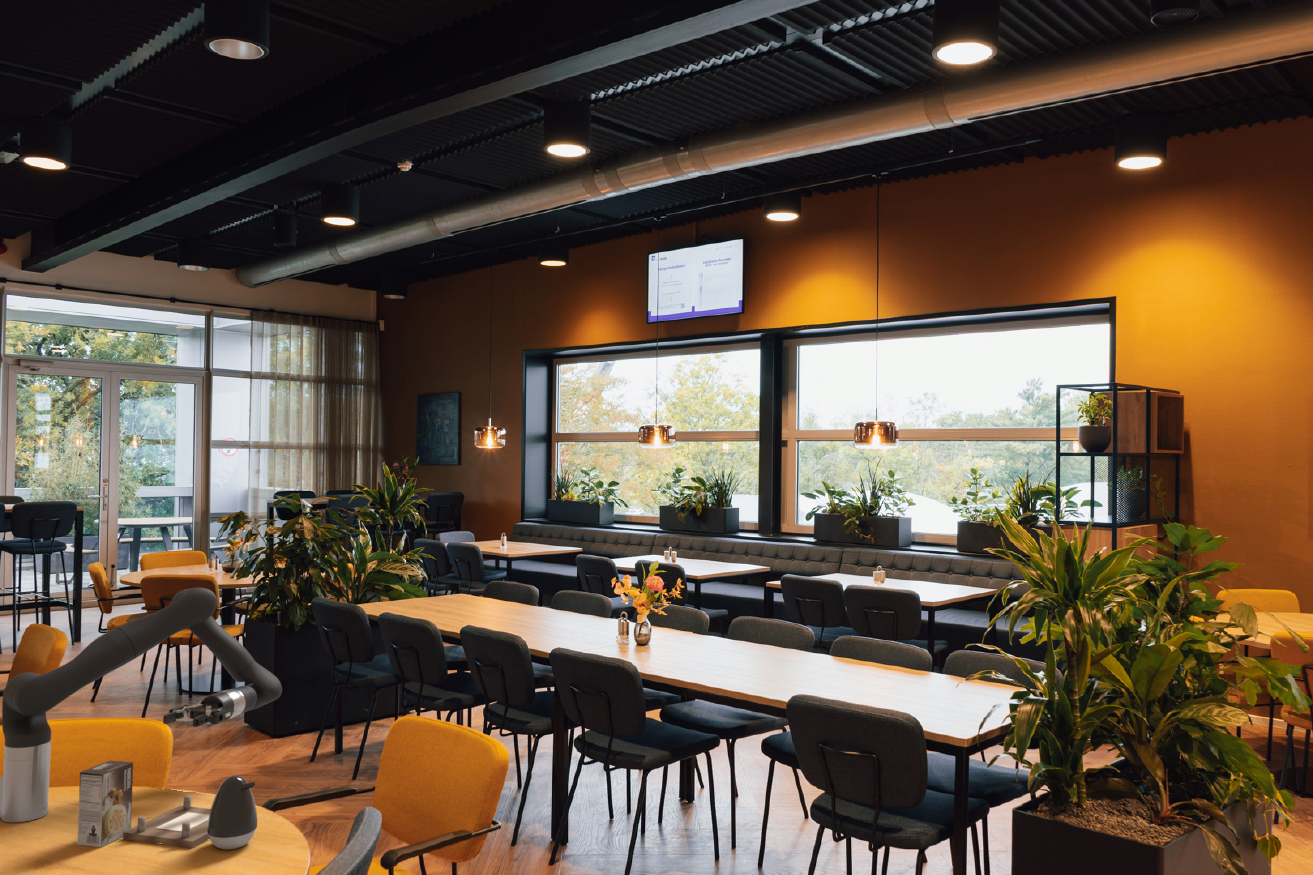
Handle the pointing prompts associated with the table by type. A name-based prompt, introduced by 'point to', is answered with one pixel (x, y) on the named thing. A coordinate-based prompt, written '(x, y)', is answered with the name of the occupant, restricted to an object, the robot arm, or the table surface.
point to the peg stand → (173, 827)
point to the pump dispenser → (232, 814)
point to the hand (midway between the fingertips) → (179, 721)
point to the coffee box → (105, 803)
